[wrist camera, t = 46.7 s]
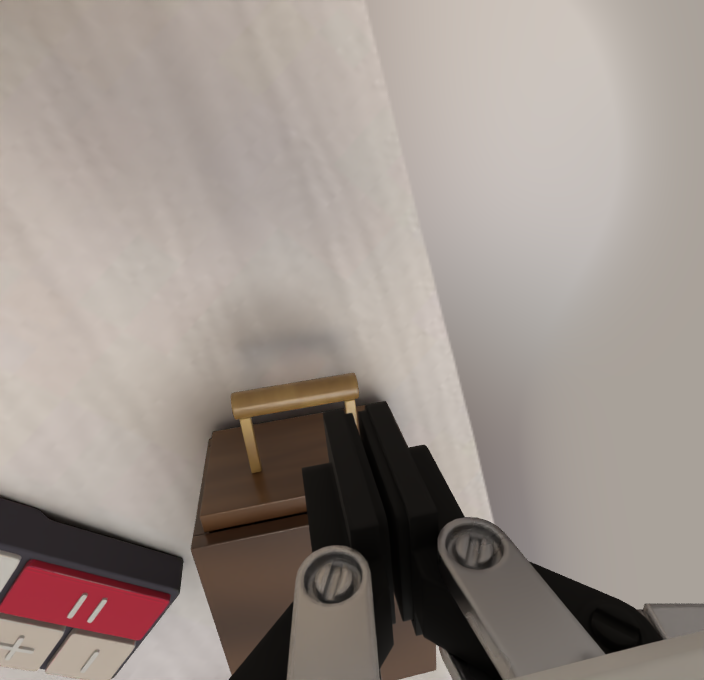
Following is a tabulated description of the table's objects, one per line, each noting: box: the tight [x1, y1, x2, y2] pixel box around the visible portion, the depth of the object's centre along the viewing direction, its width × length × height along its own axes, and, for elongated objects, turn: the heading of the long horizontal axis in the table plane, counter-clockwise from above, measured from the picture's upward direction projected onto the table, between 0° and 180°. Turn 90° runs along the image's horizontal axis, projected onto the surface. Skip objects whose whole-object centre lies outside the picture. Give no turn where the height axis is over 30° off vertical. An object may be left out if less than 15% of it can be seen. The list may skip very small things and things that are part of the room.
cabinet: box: [191, 408, 436, 680], centre depth 33 cm, size 16×13×10 cm
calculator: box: [0, 498, 183, 680], centre depth 34 cm, size 11×4×15 cm
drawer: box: [199, 373, 365, 532], centre depth 31 cm, size 20×12×8 cm, turn 5°
